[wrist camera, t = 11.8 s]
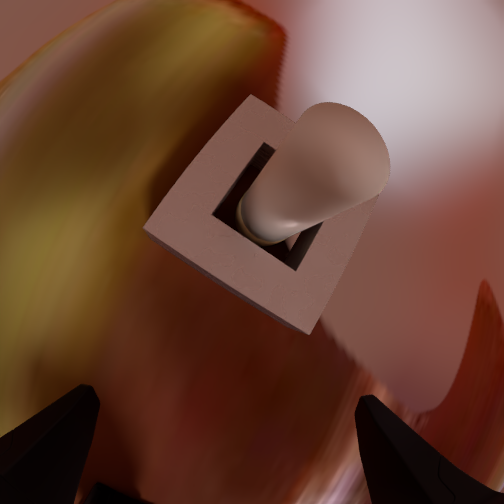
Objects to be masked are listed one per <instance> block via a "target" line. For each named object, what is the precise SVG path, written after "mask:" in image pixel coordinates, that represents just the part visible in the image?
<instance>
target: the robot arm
mask: <svg viewBox="0 0 504 504" xmlns="http://www.w3.org/2000/svg"><path fill="white" fill-rule="evenodd" d="M99 408H100V401H99V399H98V397H97V395H96V393H95V391H94V389H93V387H92V386H90V385H86V384H80V385H79V386H77V387H76V388H74V389H73V390H71V391H70V392H68V393H67V394H65V395H64V396H62V397H61V398H59V399H58V400H56V401H55V402H54V403H52V404H51V405H49V406H48V407H46V408H45V409H43V410H42V411H40V412H39V413H37V414H36V415H34V416H33V417H31V418H30V419H28V420H27V421H25V422H24V423H22V424H21V425H19V426H18V427H16V428H15V429H14V430H11V431H10V432H8V433H7V434H5V435H4V436H2V437H0V504H74V500H75V497H76V493H77V489H78V486H79V482H80V479H81V475H82V472H83V468H84V465H85V462H86V459H87V455H88V452H89V449H90V446H91V443H92V439H93V435H94V430H95V426H96V421H97V417H98V412H99ZM355 422H356V429H357V437H358V444H359V452H360V457H361V461H362V465H363V469H364V473H365V477H366V481H367V485H368V489H369V493H370V498H371V502H372V504H504V493H501V492H497V491H494V490H492V489H490V488H489V487H487V486H485V485H484V484H482V483H480V482H479V481H477V480H475V479H474V478H472V477H471V476H469V475H468V474H466V473H465V472H463V471H462V470H460V469H459V468H457V467H456V466H455V465H454V464H452V463H451V462H450V461H449V460H447V459H446V458H445V457H444V456H443V455H440V453H439V452H438V451H437V450H436V449H434V448H433V447H432V446H431V445H430V444H429V443H428V442H426V441H425V440H424V439H423V438H422V437H421V436H419V435H418V434H417V433H416V432H415V431H414V430H413V429H411V428H410V427H409V426H408V425H407V424H406V423H405V422H403V421H402V420H401V419H400V418H399V417H398V416H397V415H396V414H394V413H393V412H392V411H391V410H390V409H389V408H388V407H387V406H385V405H384V404H383V403H382V402H381V401H380V400H379V399H378V398H377V397H375V396H374V395H364V396H361V397H360V399H359V402H358V404H357V407H356V410H355ZM99 487H100V488H99ZM84 504H143V503H141V502H138V501H136V500H134V499H132V498H130V497H127V496H125V495H123V494H121V493H119V492H117V491H115V490H113V489H111V488H109V487H107V486H105V485H103V484H101V483H95V485H94V487H93V488H92V490H91V492H90V493H89V495H88V497H87V499H86V500H85V502H84Z"/></svg>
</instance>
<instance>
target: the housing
mask: <svg viewBox="0 0 504 504" xmlns="http://www.w3.org/2000/svg"><path fill="white" fill-rule="evenodd" d="M295 124H296V123H295V122H293V121H292V120H290V119H288V118H287V117H286V116H284V115H283V114H281V113H280V112H278V111H277V110H275V109H274V108H272V107H270V106H269V105H267V104H266V103H264V102H263V101H261V100H259V99H258V98H256V97H255V96H253V95H251V94H250V95H249V96H248V97H247V98H246V100H245V101H244V102H243V103H242V104H241V105H240V106H239V107H238V108H237V109H236V110H235V112H234V113H233V114H232V115H231V116H230V117H229V118H228V119H227V120H226V122H225V123H224V124H223V125H222V126H221V127H220V129H219V130H218V131H217V132H216V133H215V134H214V136H213V137H212V138H211V139H210V140H209V141H208V143H207V144H206V145H205V146H204V147H203V149H202V150H201V151H200V152H199V154H198V155H197V156H196V157H195V158H194V160H193V161H192V162H191V163H190V165H189V166H188V167H187V169H186V170H185V171H184V172H183V174H182V175H181V176H180V178H179V179H178V180H177V181H176V183H175V184H174V185H173V187H172V188H171V189H170V191H169V192H168V193H167V195H166V196H165V197H164V199H163V200H162V202H161V203H160V204H159V206H158V207H157V208H156V210H155V211H154V213H153V214H152V215H151V217H150V218H149V220H148V221H147V223H146V224H145V225H144V227H143V229H144V230H145V232H146V233H147V235H148V236H149V238H150V239H152V240H153V241H154V242H156V243H157V244H159V245H160V246H162V247H163V248H165V249H166V250H168V251H169V252H171V253H172V254H173V255H175V256H176V257H178V258H179V259H181V260H182V261H184V262H185V263H187V264H188V265H190V266H191V267H193V268H194V269H196V270H197V271H199V272H201V273H202V274H204V275H205V276H207V277H208V278H210V279H211V280H213V281H214V282H216V283H217V284H219V285H221V286H222V287H224V288H225V289H227V290H228V291H230V292H232V293H233V294H235V295H236V296H238V297H239V298H241V299H243V300H244V301H246V302H247V303H249V304H251V305H252V306H254V307H255V308H257V309H259V310H260V311H262V312H263V313H265V314H267V315H268V316H270V317H272V318H273V319H275V320H277V321H278V322H280V323H282V324H283V325H285V326H287V327H288V328H291V329H294V330H297V331H299V332H302V333H305V334H308V335H310V333H311V331H312V329H313V328H314V326H315V324H316V322H317V320H318V319H319V317H320V315H321V313H322V311H323V310H324V308H325V306H326V304H327V302H328V300H329V298H330V296H331V294H332V293H333V291H334V289H335V287H336V285H337V283H338V281H339V279H340V277H341V275H342V273H343V271H344V269H345V267H346V265H347V263H348V261H349V259H350V257H351V255H352V253H353V251H354V249H355V247H356V245H357V243H358V240H359V238H360V236H361V234H362V232H363V230H364V228H365V225H366V223H367V221H368V219H369V216H370V214H371V212H372V210H373V207H374V205H375V203H376V200H377V198H378V196H379V194H378V195H376V196H375V197H373V198H371V199H369V200H367V201H365V202H362V203H360V204H358V205H356V206H354V207H352V208H350V209H348V210H345V211H343V212H341V213H339V214H337V215H335V216H333V217H331V218H328V219H326V220H324V221H322V222H320V223H318V224H316V225H314V226H311V227H309V228H307V229H305V230H303V231H301V233H300V235H299V237H298V238H297V240H296V242H295V244H294V245H293V247H292V249H291V250H290V252H289V254H288V256H287V257H286V259H285V261H284V262H283V263H282V262H281V261H279V260H278V259H276V258H275V257H274V256H272V255H271V254H269V253H268V252H266V251H265V250H263V249H262V248H260V247H259V246H257V245H256V244H254V243H253V242H251V241H250V240H248V239H247V238H245V237H244V236H242V235H241V234H239V233H238V232H236V231H235V230H233V229H232V228H230V227H229V226H227V225H226V224H224V223H223V222H221V221H220V220H218V219H217V218H215V217H214V215H215V214H216V212H217V211H218V209H219V208H220V206H221V205H222V203H223V202H224V201H225V199H226V198H227V196H228V195H229V194H230V192H231V191H232V189H233V188H234V186H235V185H236V184H237V182H238V181H239V179H240V178H241V177H242V175H243V174H244V173H245V171H246V170H247V168H248V167H249V166H250V164H251V165H253V166H254V167H256V168H257V169H259V170H260V171H262V169H263V168H264V167H265V165H266V164H267V162H268V161H269V160H270V158H271V157H272V155H273V154H274V153H275V151H276V150H277V148H278V147H279V146H280V144H281V143H282V142H283V140H284V139H285V137H286V136H287V135H288V133H289V132H290V131H291V129H292V128H293V127H294V125H295Z"/></svg>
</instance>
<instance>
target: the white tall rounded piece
mask: <svg viewBox="0 0 504 504" xmlns="http://www.w3.org/2000/svg"><path fill="white" fill-rule="evenodd" d="M389 174H390V159H389V154H388V150H387V148H386V145H385V143H384V141H383V139H382V137H381V135H380V134H379V132H378V131H377V129H376V128H375V127H374V126H373V124H372V123H371V122H370V121H369V120H368V119H367V118H366V117H364V116H363V115H362V114H360V113H359V112H357V111H356V110H354V109H352V108H350V107H348V106H345V105H342V104H338V103H332V102H325V103H319V104H316V105H314V106H312V107H310V108H309V109H307V110H306V111H305V112H304V113H303V114H302V116H301V117H300V119H299V120H298V121H297V122H296V124H295V125H294V127H293V128H292V129H291V131H290V132H289V133H288V135H287V136H286V137H285V139H284V140H283V142H282V143H281V144H280V146H279V147H278V148H277V150H276V151H275V153H274V154H273V155H272V157H271V158H270V160H269V161H268V162H267V164H266V165H265V167H264V168H263V169H262V171H261V172H260V174H259V175H258V176H257V178H256V179H255V181H254V182H253V184H252V185H251V186H250V188H249V189H248V190H247V191H246V192H245V194H244V195H243V197H242V198H241V200H240V201H239V203H238V205H237V207H236V210H235V223H236V226H237V229H238V231H239V232H240V234H241V235H242V236H244V237H245V238H247V239H248V240H250V241H251V242H253V243H254V244H256V245H257V246H271V245H274V244H277V243H279V242H281V241H283V240H285V239H287V238H289V237H290V236H292V235H294V234H296V233H299V232H301V231H303V230H305V229H307V228H309V227H311V226H314V225H316V224H318V223H320V222H322V221H324V220H326V219H328V218H331V217H333V216H335V215H337V214H339V213H341V212H343V211H345V210H348V209H350V208H352V207H354V206H356V205H358V204H360V203H362V202H365V201H367V200H369V199H371V198H373V197H375V196H376V195H378V194H379V193H380V192H381V191H382V190H383V189H384V187H385V186H386V184H387V181H388V178H389Z"/></svg>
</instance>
